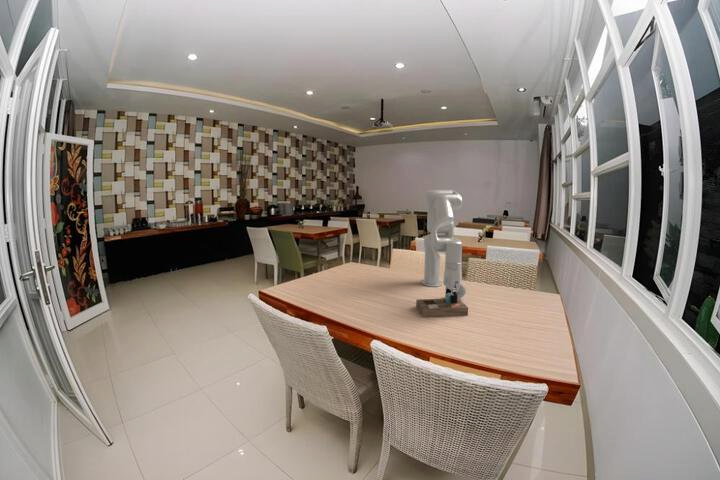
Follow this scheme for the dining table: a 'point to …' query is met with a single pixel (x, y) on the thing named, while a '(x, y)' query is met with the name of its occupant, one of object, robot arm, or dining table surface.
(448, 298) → the plug
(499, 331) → the dining table surface
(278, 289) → the dining table surface
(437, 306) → the socket block
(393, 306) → the dining table surface
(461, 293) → the donut
